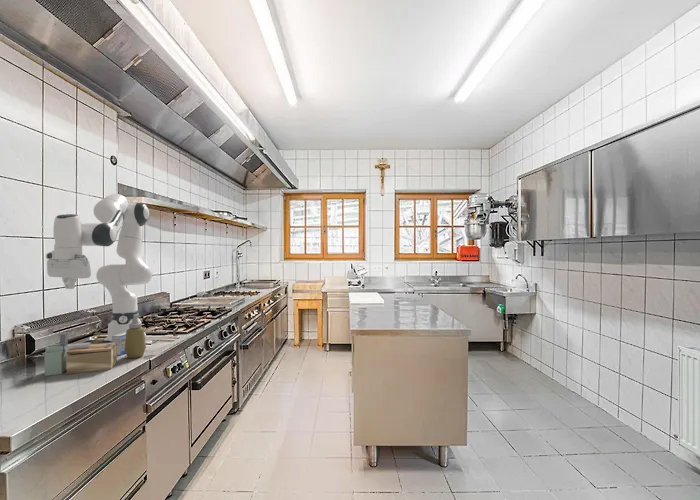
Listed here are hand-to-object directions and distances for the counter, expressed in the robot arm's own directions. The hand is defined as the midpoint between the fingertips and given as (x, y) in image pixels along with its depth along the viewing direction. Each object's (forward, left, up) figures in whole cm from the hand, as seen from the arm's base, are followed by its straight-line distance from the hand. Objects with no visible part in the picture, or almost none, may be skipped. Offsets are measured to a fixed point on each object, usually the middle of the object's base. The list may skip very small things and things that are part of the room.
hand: (69, 288), depth 141 cm
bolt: (+7, +4, -23) cm, 24 cm away
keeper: (+7, -2, -31) cm, 32 cm away
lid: (+7, +9, -24) cm, 26 cm away
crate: (+7, +9, -31) cm, 33 cm away
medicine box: (-12, +16, -31) cm, 37 cm away
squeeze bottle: (-3, +22, -31) cm, 38 cm away
